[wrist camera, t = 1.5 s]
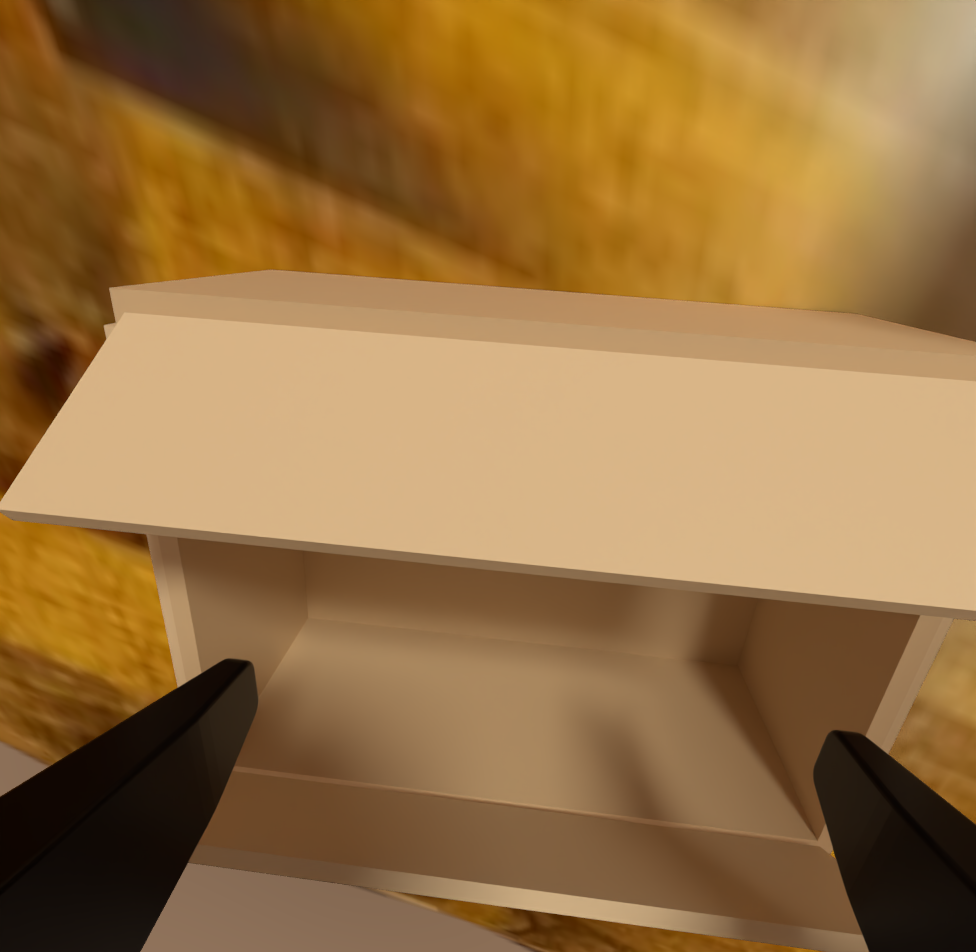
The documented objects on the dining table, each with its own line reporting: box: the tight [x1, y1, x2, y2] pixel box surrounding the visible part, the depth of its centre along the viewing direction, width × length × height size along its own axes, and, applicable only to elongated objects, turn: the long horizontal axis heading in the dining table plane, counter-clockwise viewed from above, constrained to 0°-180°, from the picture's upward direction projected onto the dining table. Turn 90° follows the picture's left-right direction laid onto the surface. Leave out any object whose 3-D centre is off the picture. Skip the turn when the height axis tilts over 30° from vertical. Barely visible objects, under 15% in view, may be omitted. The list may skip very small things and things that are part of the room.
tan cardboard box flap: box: [0, 312, 976, 621], centre depth 8 cm, size 14×4×1 cm
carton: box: [104, 270, 976, 854], centre depth 14 cm, size 16×12×6 cm
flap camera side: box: [188, 771, 869, 952], centre depth 11 cm, size 14×4×1 cm
